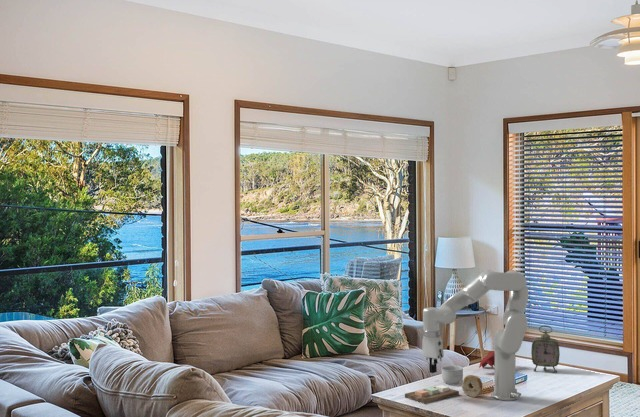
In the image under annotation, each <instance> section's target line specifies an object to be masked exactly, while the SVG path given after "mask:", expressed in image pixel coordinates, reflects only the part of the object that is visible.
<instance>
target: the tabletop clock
mask: <svg viewBox="0 0 640 417" xmlns="http://www.w3.org/2000/svg"><path fill="white" fill-rule="evenodd" d="M543 327H546V328H549V329H551V331H547V330H544V331H543V330H540V329H541V328H543ZM538 331H539V332H540V333H542V334H541V336H540V337H535V338H534V337H533V339H532V341H531V352H530V353H531V360H532V361H531V362H532V364H533V365H535V367H534V368H533V372H536V371H537V367H538V366H539V367H543V371H547V368H552V369H553V372H554V373H555V374H556V373H557V372H558V370H557V369H556V367H557V366H558V365H559V363H560V345H559V341H558V339H555V338H551V336H550V333H552V332H553V328H552V327H551V326H549V325H545V324H544V325H540V326H539V327H538Z"/></svg>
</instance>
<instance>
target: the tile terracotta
mask: <svg viewBox="0 0 640 417" xmlns="http://www.w3.org/2000/svg"><path fill="white" fill-rule="evenodd" d="M414 391H415V395H417V396H420V397H424V396H428V391H425V390H423V389H418V390H414Z"/></svg>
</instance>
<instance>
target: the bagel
mask: <svg viewBox="0 0 640 417" xmlns="http://www.w3.org/2000/svg"><path fill="white" fill-rule="evenodd" d="M461 389H462V391H463V393H464V394H465V395H466V396H469V397H470V398H471V397H472V398H477V397H479V396H480V395H481V394H482V393H483V389H484V388H483V382H482V380H481V378H480V377H479V376H477V375H475V374H474V375H473V374H468V375H465V376H464V377H463V379H462V384H461Z"/></svg>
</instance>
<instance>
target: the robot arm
mask: <svg viewBox="0 0 640 417" xmlns="http://www.w3.org/2000/svg"><path fill="white" fill-rule="evenodd" d="M490 290H491V291H498V292H499V291H504V292H505V291H506V292H509V296H508V300H507V304H506V306H505V310H504V312H503V315H502V322H503V325H504V329H501V330H498V331H497V332H496V333H495V335H494V338H493V347H494V348H493V349H494V350H493V351H495V366H494V368H495V369H494V375H493V377H494V378H493V380H494V382H493V383H494V385H493V387H494V388H493V389H494V390H493V391H491V393H490V397H492V398H493V399H496V400H499V401H507V402H508V401H516V400H518V399H519V398H521V396H522V392H518V388H516V353H517V352H519V351H520V349H521V347H522V343H523V340H524V337H525V334H526V331H527V327H528V318H527V317H526V314H525V312H526V309H527V304H528V302H529V301H528V300H529V289H528V285H527V278H526V276H525V275H524V274H523V273H521V272H519V271H517V270H513V269H510V270H507V271H506V272H500V271H498V272H497V271H494V270H491V269H486V270H484V271H482V272H481V273H480V274H478V275H477V276H476V277H475V278H474V279H472V280H471V281H470V282H469V283H468V284H467V285H465V286H464V287H463V288H462V289H460V290H459V291H457V292H455V293H454V294H453V295H452V296H451V297H449V298H448V299H447V300H446V301H445V302H443V303H442V304H441V305H439V307H438V308H437V307H433V306H431V307H424V308H423V310H422V323H423V324H422V328H423V335H422V341H421V342H422V343H421V344H422V345H421V352H422V356H423V358H424V359H425V360H426V361H427V364H428V368H429V373H430V374H435V373H437V368H438V367H437V364H438V363H439V362H442V361H443V359H442V358H444V356H445V355H444V354H445V352H444V345H443V340H442V337H441V331H440V330H441V329H440V324H445V325H447V324H453V323H454V322H455V320H456V319H457V313H458V312H459V311H460V310H461V309H463V308H464V307H466V306H469V305H472V304H475V303H476V302H478V301H479V300H480V299H481V298H482V297H484V296H485V295H486V294H487V293H488V292H490Z"/></svg>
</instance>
